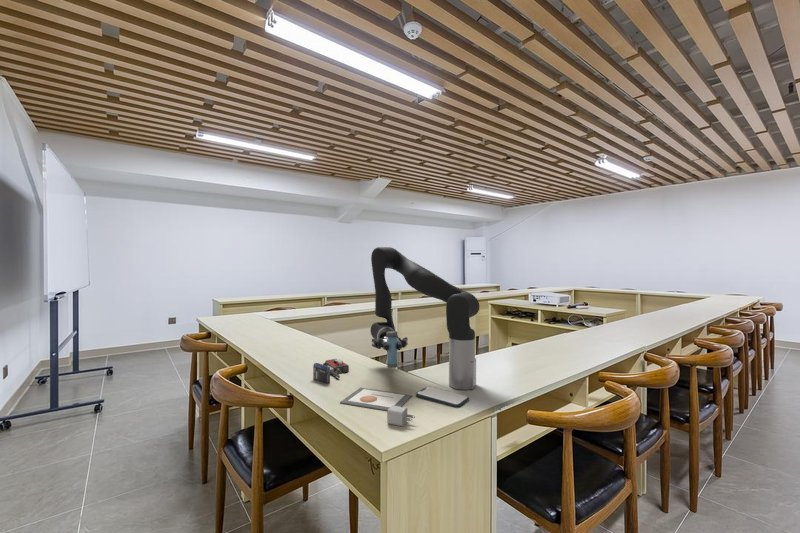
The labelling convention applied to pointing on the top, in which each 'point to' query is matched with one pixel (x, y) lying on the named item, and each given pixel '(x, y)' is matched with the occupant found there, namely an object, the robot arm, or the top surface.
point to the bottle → (392, 349)
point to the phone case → (442, 397)
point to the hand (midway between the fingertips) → (393, 347)
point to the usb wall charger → (398, 415)
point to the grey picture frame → (376, 399)
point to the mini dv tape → (321, 373)
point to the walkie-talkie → (336, 366)
